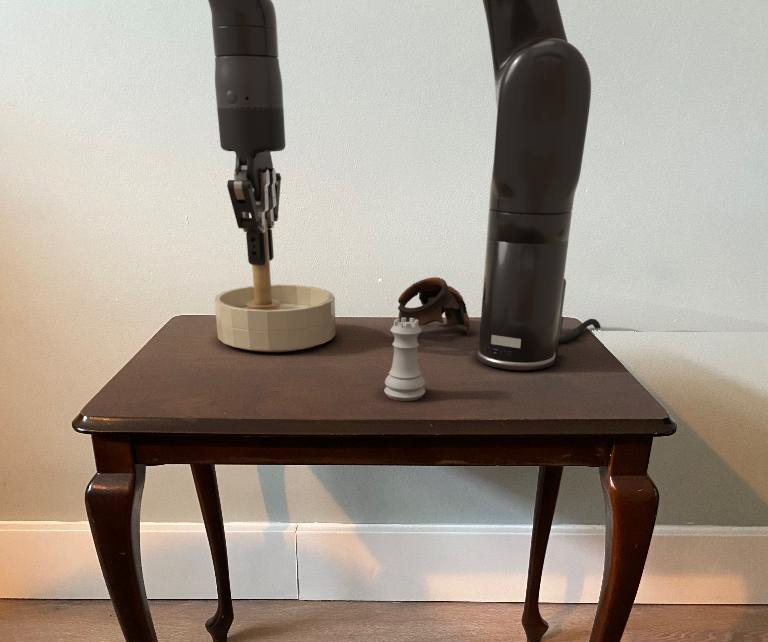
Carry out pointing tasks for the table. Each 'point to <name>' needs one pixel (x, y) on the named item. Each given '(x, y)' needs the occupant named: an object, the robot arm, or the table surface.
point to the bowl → (276, 319)
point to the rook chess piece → (405, 363)
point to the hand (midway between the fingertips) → (261, 261)
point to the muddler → (263, 285)
